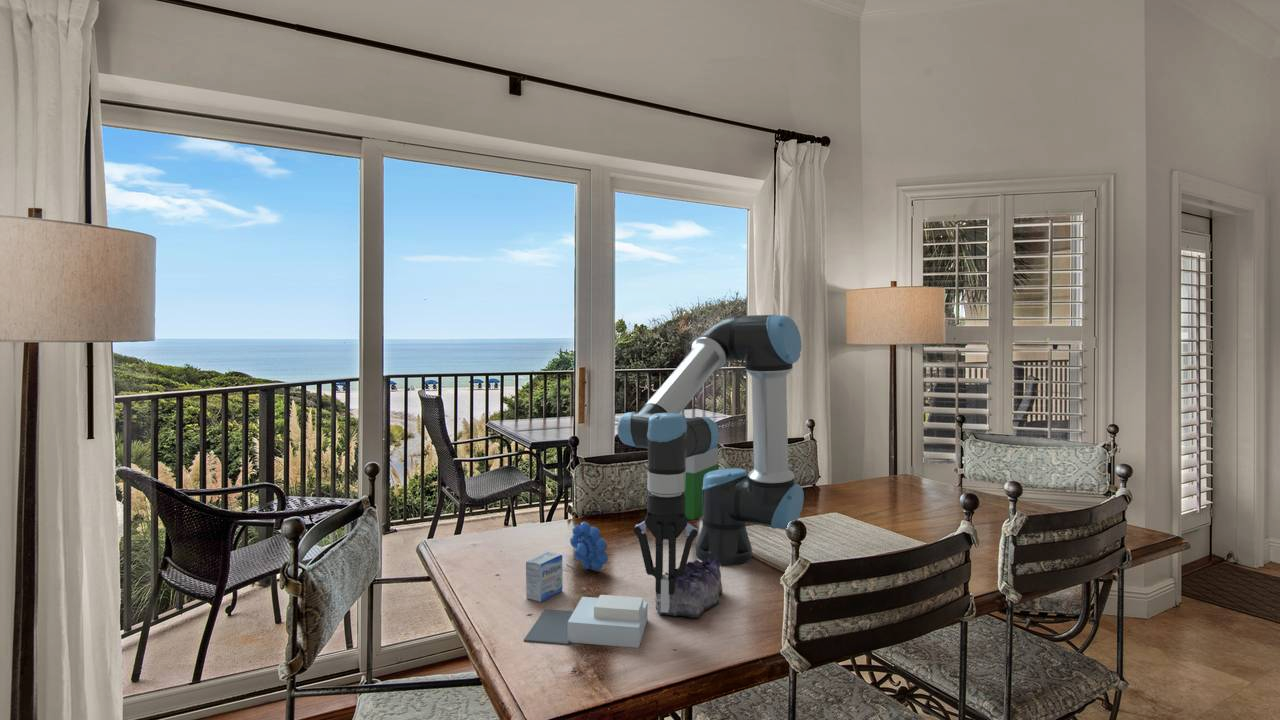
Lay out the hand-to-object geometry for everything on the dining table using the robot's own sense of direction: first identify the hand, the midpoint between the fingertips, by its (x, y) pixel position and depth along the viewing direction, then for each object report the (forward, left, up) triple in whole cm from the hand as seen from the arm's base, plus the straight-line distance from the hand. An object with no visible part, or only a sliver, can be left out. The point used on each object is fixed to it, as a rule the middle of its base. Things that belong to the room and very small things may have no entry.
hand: (665, 609), depth 128 cm
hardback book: (-1, -89, -6) cm, 89 cm away
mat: (+22, 0, -5) cm, 23 cm away
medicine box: (+29, -15, -6) cm, 33 cm away
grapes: (+23, -31, -5) cm, 39 cm away
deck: (+11, 0, -5) cm, 13 cm away
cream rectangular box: (+9, 0, -1) cm, 9 cm away
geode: (-4, -16, -6) cm, 17 cm away
